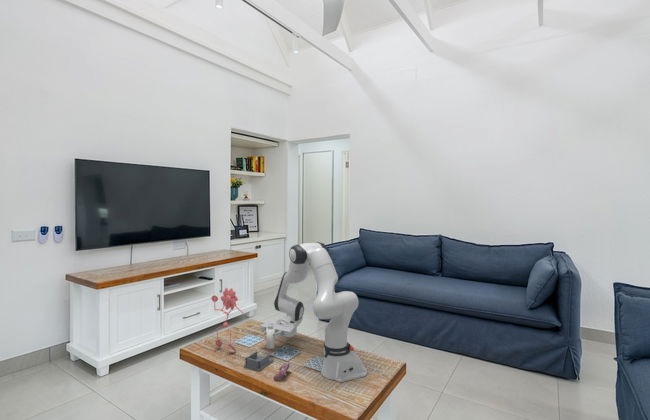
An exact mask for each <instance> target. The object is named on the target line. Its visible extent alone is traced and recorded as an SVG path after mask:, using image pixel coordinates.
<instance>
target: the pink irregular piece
mask: <svg viewBox="0 0 650 420" xmlns="http://www.w3.org/2000/svg"><path fill="white" fill-rule="evenodd" d="M290 366H291V364H290V363H289V362H284V363H283V364H282V365H281V366H280V367H279V369H278V371H279V372H277V374H275V375H274V376H273V380H274V381H279V380H281V379H283V378H284V376H287V371H288V369H289V368H290Z"/></svg>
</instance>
